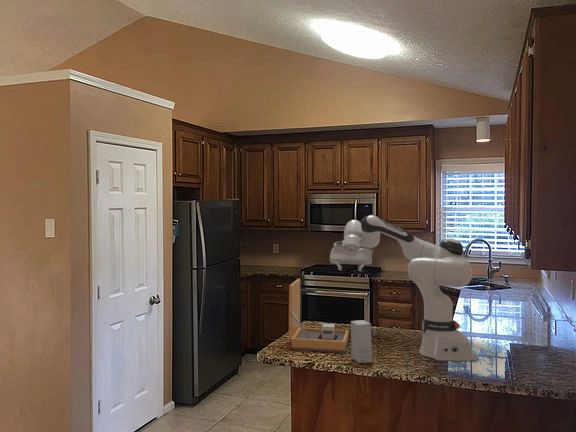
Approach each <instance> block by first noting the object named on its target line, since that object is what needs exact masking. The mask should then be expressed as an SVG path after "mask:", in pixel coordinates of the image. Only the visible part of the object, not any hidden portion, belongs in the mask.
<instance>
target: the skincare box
mask: <svg viewBox="0 0 576 432" xmlns="http://www.w3.org/2000/svg"><path fill="white" fill-rule="evenodd" d="M350 344H351V345H350V347H351V349H350V350H351V352H350V353H351V359H353V360H354V361H355V362H356V363H357V364H360V363H361V364H362V363H363V364H364V363H365V364H366V363H372V362H373V356H372V355H373V352H372V350H373V349H372V347H373V345H372V323H370V322H368V321H366V320H364V319H363V320H361V319H360V320H357V319H356V320H351V321H350Z"/></svg>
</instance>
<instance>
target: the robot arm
mask: <svg viewBox="0 0 576 432" xmlns="http://www.w3.org/2000/svg"><path fill="white" fill-rule="evenodd" d="M381 234H383V235H386V236H388V237H390V238H393V239H395V240H396V241H397V242H398V244H399V245H400V247H401V249H402V253H403V255H404V257H405V258H406V259H407V260H409V263H408V266H407V275H408V278H410V280H411V281H412V282H413V283H414V284H415V285H416V286H417V288H418V289H419V291H420V293H421V296H422V299H423V300H422V301H423V317H422V327H421V328H422V340H421V345H420V348H419V352H418V353H419V354H420V355H421V356H423V357H427V358H429V359H430V358H431V359H434V360H437V361H445V362H446V361H448V362H449V361H450V362H452V361H453V362H454V361H455V362H456V361H458V362H461V361H462V362H464V361H465V362H467V361H468V362H473V361H474V362H477V360H478V359H479V355H478V353H477V352H476V351H475V350H473V347H472V343H471V341H470V339H469V338H468V337H467V336H466V335H464V333H462V332H461V331H459V330H458V329H460V328H461V326H460V323H458V322H457V321H456V320H454V319H453V308H454V307H453V306H454V304H453V301H452V299H451V298H450V296H448V295H447V294H445V293H444V292H442V290H441V288H440V287H441V286H442V287H449V288H451V287H452V288H458V287H466V286H468V285H469V283H470V282H471V280H472V279H473V270H472V265H471V263H470V262H469V261H468V259H465V258H463V255H464V254H465V252H464V246H463V244H462V243H461V242H460V241H458V240H457V239H454V238H443V239H442V240H441V241H440V243H439V246H438V245H437V244H433V243H432V242H429V241H425V240H423V239H420V238H418V237H417V236H415V235H414V234H413V233H412V232H410V231H409V230H407V229H405V228H403V227H400V226H398V225H395V224H393V223H390V222H388V221H386V220H384V219H382V217H379V216H377V215H375V214H369V215H366V216H364V217H363V218H361V220H360V221H359V220H357V219H351V220H349V221H348V222H347V223H346V225H345V227H344V231H343V240H340V241H336V242H334V243H333V248H331V251H330V253H329V254H330V255H329V263H331V264H335V265H336V266H337V267H338V268H337V270H338V271H342V269H343V266H342V265H358V268H357V269H358V272H362V270H363V268H364V267H365V265H368V266H369V265H372V263H373V258H372V256H373V254H374V249H373V248H376V247H377V246H378V245H379V244H380V240H381Z"/></svg>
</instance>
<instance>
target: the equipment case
mask: <svg viewBox="0 0 576 432" xmlns="http://www.w3.org/2000/svg"><path fill="white" fill-rule="evenodd" d="M288 290H289V292H288V293H289V294H288V339H291V344H290V345H291V348H290V349H291V350H296V351H309V352H310V351H312V352H323V353H324V352H326V353H327V352H328V353H340V354H341V353H343V354H345V353H346V350H347V347H348V344H349V333H350V332H349V329H335V340H329V339H322V328H317V327H316V328H315V327H304V326H303V325H302V324H301V278H297V279H296V280H295V281H293V282H292V283H291V284H289V287H288Z"/></svg>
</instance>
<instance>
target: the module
mask: <svg viewBox="0 0 576 432" xmlns="http://www.w3.org/2000/svg"><path fill="white" fill-rule="evenodd" d="M335 326H336V325H335V323H334V324H333V323H322V325H321V329H322V339H329V340H335V328H336V327H335Z"/></svg>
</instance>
